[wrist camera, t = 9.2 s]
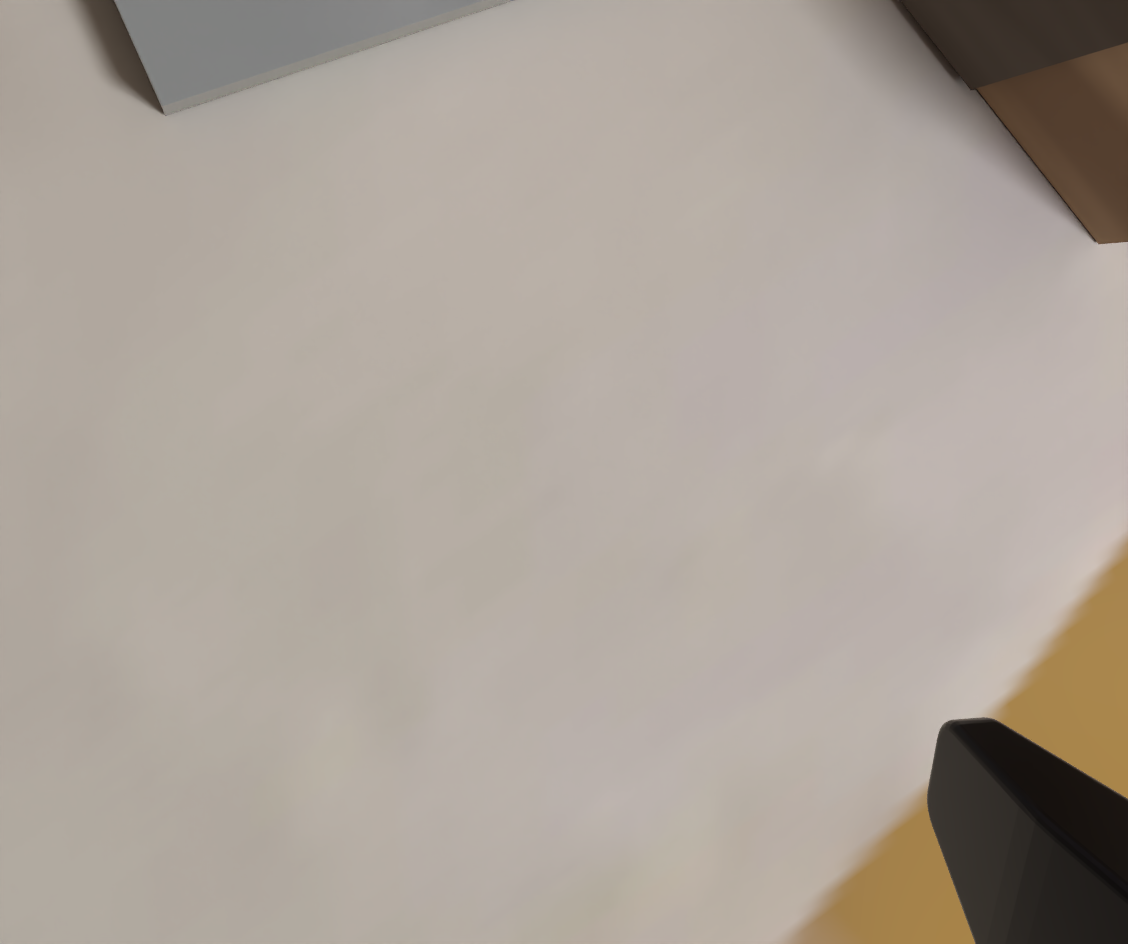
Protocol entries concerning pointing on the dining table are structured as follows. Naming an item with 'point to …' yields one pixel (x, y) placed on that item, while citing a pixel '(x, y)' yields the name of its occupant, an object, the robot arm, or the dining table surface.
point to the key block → (1050, 89)
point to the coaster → (264, 38)
